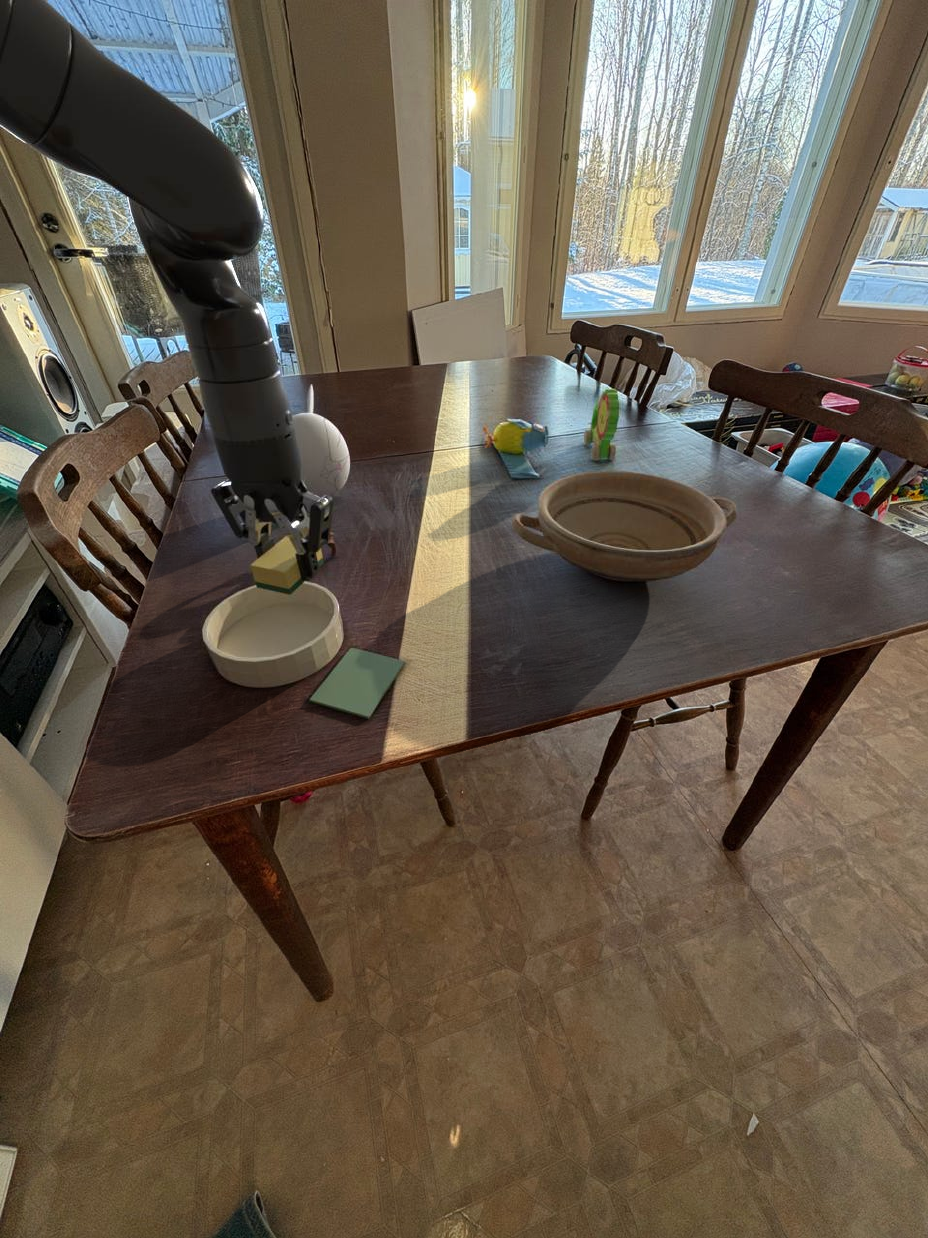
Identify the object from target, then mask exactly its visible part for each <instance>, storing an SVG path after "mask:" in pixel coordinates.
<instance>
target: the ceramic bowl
mask: <svg viewBox="0 0 928 1238" xmlns="http://www.w3.org/2000/svg"><path fill="white" fill-rule="evenodd" d="M537 509H538V516H536V517H534V516H529V515H525V514H521V513H519V514H515V515H514V516H513V517H512V520H511V526H512V528H513V530H514V532H515V533H516V534H517V535H518V536H519V537H520V538H521V539H522V540H523V541H525V542H527V543H529V544H531V545H533V546H535V547H537V548H541V549H544V550H547V551H550V552H552V553H553V552H554V553H556V554H557V556H560V558H562V559H563V560H565V561H566V562H568V563H569V564H571V565H572V566H574V567H576V568H578V569H581V570H582V571H584V572H587V573H590V574H593V575H595V576H598V577H601V578H603V579H606V580H611V581H616V582H617V581H618V582H653V581H660V580H666V579H671V578H674V577H678V576H680V575H683V574H685V573H687V572H689V571H691V570H694V569H695V568H697V567H698V566H701V564H703V563H704V561H706V560H708V558H709V557H711V555H712V554H713V553H714V551H715V549H716V548H717V546H718V545H719V543H720V541H721V538H722V537H723V535H724V534H725V532H726V529H727V528H728V527H729V526H731V525H732V524H733V523H734V522H735V521H736V519H737V518H738V516H739V515H738V514H739V511H738V508H737V506H736V504H735V503H734V501H732V500H730V499H727V498H724V497H714V498H711V497H709V496H708V495H707V494H705V493H704V492H703V491H700V490H698V489H696V488H694V487H693V486H690V485H688V484H686V483H685V484H684V483H683V482H680V481H676V480H674V479H671V478H667V477H663V476H659V475H655V474H651V473H644V472H639V471H638V472H637V471H626V470H596V471H586V472H580V473H576V474H571V475H568V476H565V477H561V478H559V479H557V480H555V481H553V482H552V483H550V484H548V485H547V486H546V487H545V488H544V489H543V490H542V491H541V493H540V494H539V496H538V499H537ZM723 510H725V511H727V512H728V514H725V512H724V511H723ZM530 529H532V530H534V531H538V532H540V533H541V534H542V535H541V534H539V533H536V532H534V531H532V530H530Z"/></svg>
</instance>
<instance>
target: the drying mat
mask: <svg viewBox="0 0 928 1238" xmlns="http://www.w3.org/2000/svg"><path fill="white" fill-rule="evenodd" d="M405 664H406V661H405V660H402V659H398V658H394V657H390V656H386V655H382V654H378V653H375V652H371V651H366V650H363V649H359V648H355V647H350V648H349V649H348V651H347V652H345V654H344V656H343V657H342V658H341V659H340V660H339V662H338V663H337V664H336V666H335V667H334V668H333V670H331V672H330V673H329V674H328V676H327V677H326V678H325V680H324V681H323V682H322V683H321V684H320V685H319V687H318V688H317V689H316V691H315V692H314V693H313V694H312V695H311V697H310V698H309V702H310V703H313V704H317V705H319V706H324V707H327V708H331V709H334V710H337V711H341V712H344V713H347V714H351V715H354V716H358V717H361V718H364V719H368V720H369V719H370V717H372V715H373V713H374V711H375V710H376V708H377V707H378V706H379V704H380V702H381V700H382V699H383V698H384V697H385V695H386V694H387V692H388V690H389V689H390V687H391V686H392V684H393V683H394V681H395V680H396V678H397V676H398V675H399V673H400V672H401V670H402V669H403V667H404V666H405Z"/></svg>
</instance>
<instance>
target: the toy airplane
mask: <svg viewBox="0 0 928 1238" xmlns="http://www.w3.org/2000/svg"><path fill="white" fill-rule="evenodd" d="M506 420H507V421H504V422H501V423H499V424H498V425H497V426H496V428H495V429H494V430H493V434H490V432H489V431H488V429H487V427H486V426H481V427H482V430H483V431H484V441H483V446H485V449H487V448H489V447H490V446H491V445H493V446H494V448H495V449H496V450H497V451H498V453H499V456H500V458H501V460H502V461H503V463H504V465H505V466H506V469H507V471H508V474H509V475H510V477H511V478H512V479H524V480H529V479H540V474H538V473H537V472H536V471H535V470H534V468H533V466H532V465H531V463H530V462H529V459H528V458H527V456H526V455H525V453H527V452H530V451H533V450H536V449H538V448H541V447H544V448H546V446H547V445H548V444H549V435H550V433H549V427H548V425H545V426H544V425H542V424H540V423H537V422H529V421H525V420H523V419H519V418H518V419H514V418H507V419H506Z"/></svg>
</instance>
